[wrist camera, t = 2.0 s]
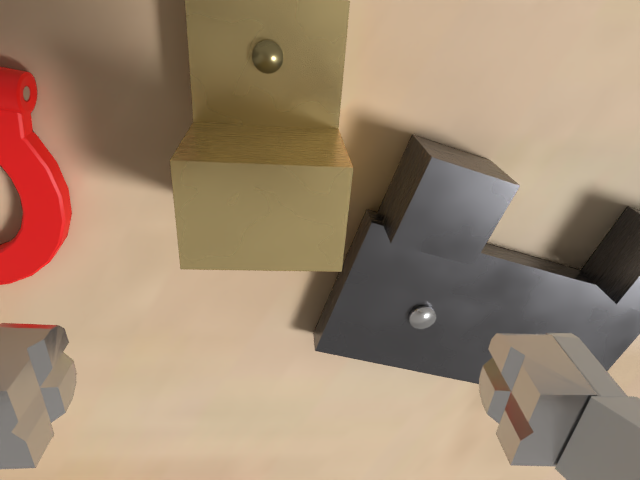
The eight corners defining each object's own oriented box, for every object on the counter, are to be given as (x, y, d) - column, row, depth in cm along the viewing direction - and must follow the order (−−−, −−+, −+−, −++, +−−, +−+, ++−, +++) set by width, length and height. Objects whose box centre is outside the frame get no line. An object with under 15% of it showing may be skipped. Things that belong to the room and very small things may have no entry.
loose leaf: (204, 200, 18) (180, 269, 14) (190, -13, 14) (153, -10, 10) (327, 204, 19) (341, 271, 14) (345, -1, 15) (371, 7, 11)
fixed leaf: (313, 333, 22) (317, 373, 20) (400, 130, 17) (418, 152, 15) (566, 386, 25) (593, 426, 23) (697, 229, 21) (748, 259, 18)
